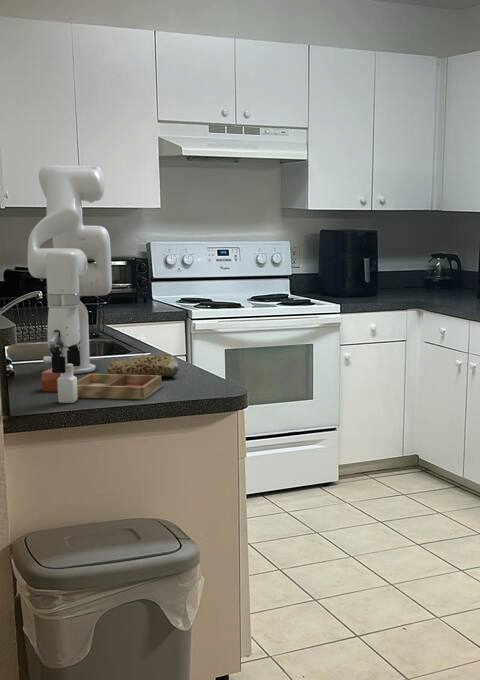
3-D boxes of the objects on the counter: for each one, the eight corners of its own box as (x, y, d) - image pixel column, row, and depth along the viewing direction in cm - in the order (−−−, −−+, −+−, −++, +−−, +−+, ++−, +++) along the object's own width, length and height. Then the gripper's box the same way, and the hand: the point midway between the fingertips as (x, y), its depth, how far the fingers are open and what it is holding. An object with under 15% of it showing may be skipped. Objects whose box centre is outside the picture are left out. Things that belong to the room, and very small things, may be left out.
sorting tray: (67, 397, 230) (67, 385, 230) (90, 384, 246) (89, 373, 246) (144, 399, 229) (144, 387, 228) (161, 386, 245) (161, 375, 244)
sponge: (169, 376, 264) (101, 367, 256) (175, 351, 262) (106, 341, 254) (178, 393, 253) (107, 384, 245) (184, 367, 251) (113, 357, 243)
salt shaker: (57, 403, 223) (56, 365, 222) (62, 400, 227) (60, 363, 226) (73, 403, 223) (72, 366, 222) (78, 400, 227) (76, 363, 226)
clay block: (42, 391, 238) (41, 372, 237) (49, 387, 243) (49, 369, 242) (60, 391, 237) (59, 372, 236) (67, 387, 242) (67, 369, 241)
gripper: (62, 297, 230) (65, 363, 232) (34, 304, 213) (37, 375, 215) (91, 297, 229) (93, 364, 232) (65, 304, 212) (68, 375, 215)
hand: (66, 369), depth 224 cm, fingers open, 9 cm apart
